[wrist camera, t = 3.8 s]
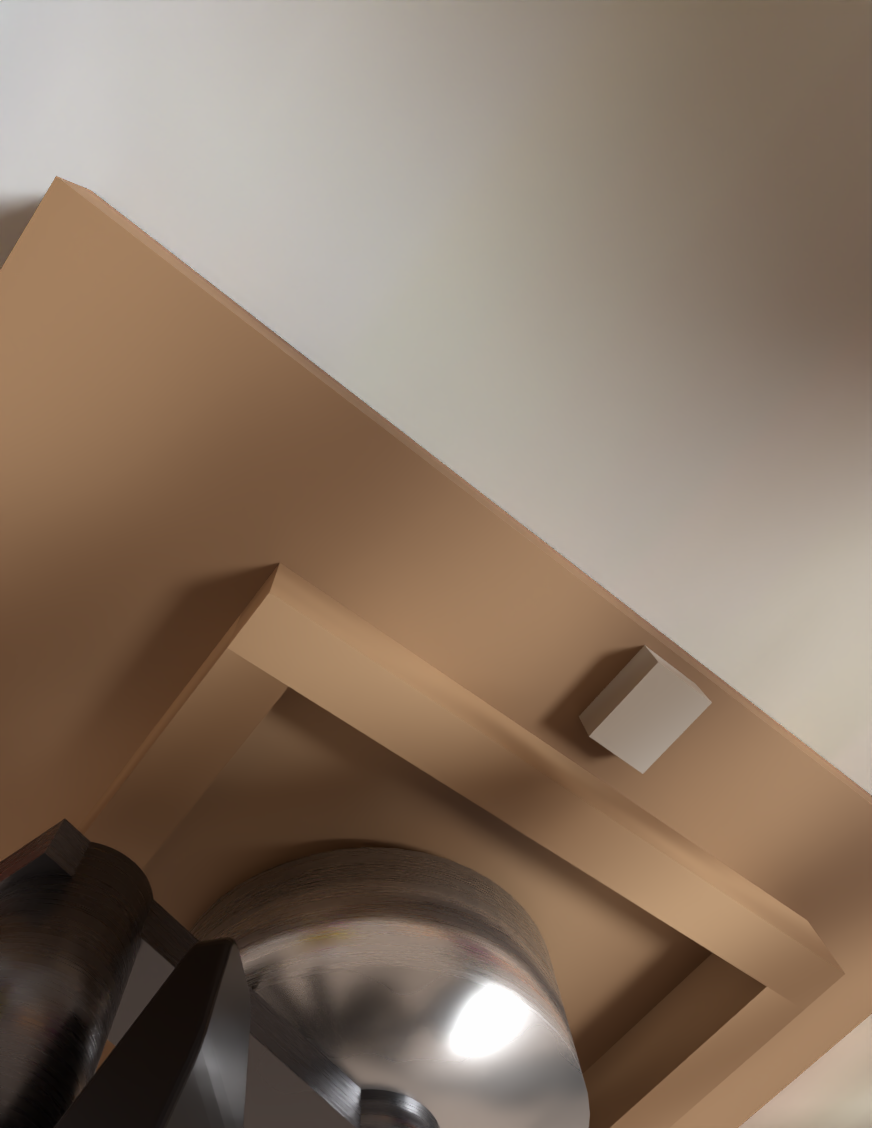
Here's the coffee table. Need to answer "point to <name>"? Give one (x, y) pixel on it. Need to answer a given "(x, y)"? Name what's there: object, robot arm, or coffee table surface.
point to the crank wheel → (295, 988)
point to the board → (387, 684)
